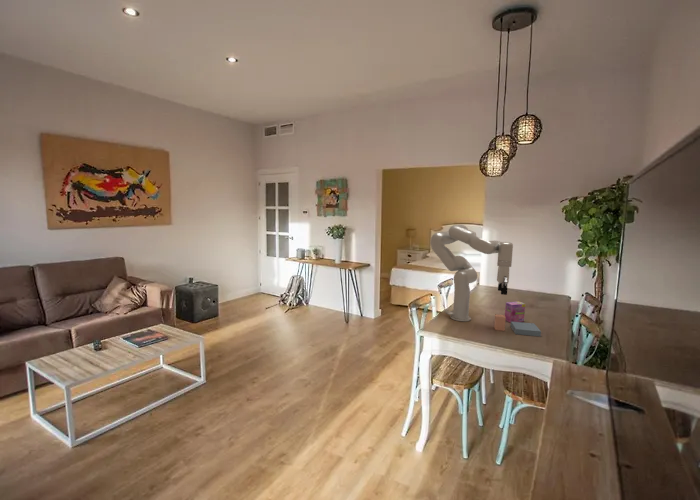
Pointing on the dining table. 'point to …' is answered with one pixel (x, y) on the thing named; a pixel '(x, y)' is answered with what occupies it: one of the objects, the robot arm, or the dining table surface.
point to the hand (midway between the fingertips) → (502, 292)
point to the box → (514, 311)
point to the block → (499, 322)
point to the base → (525, 329)
